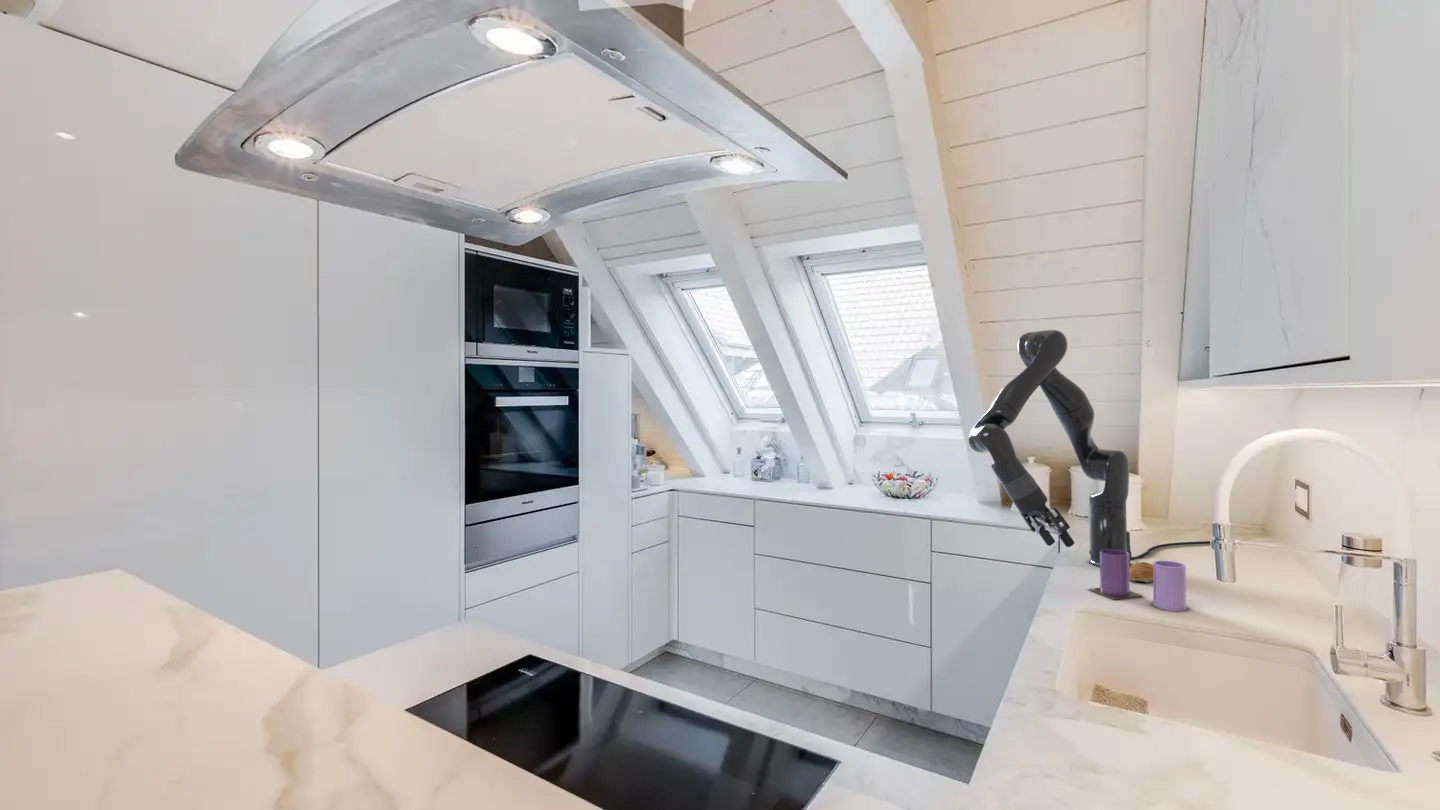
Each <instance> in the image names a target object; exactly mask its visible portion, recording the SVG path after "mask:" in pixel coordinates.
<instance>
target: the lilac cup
mask: <svg viewBox="0 0 1440 810" xmlns="http://www.w3.org/2000/svg"><path fill="white" fill-rule="evenodd" d="M1152 565H1153V582H1152V583H1153V584H1152V585H1153V586H1152V587H1153V593H1152V594H1153V595H1152V596H1153V606H1154V607H1155V608H1157V609H1161V610H1165V611H1171V612H1184V611H1186V610H1187V579H1186V578H1187V575H1186V574H1187V573H1186V572H1187V571H1186V568H1187V567H1186V564H1184V563H1182V562H1177V561H1173V560H1154V561H1153V562H1152Z"/></svg>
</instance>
